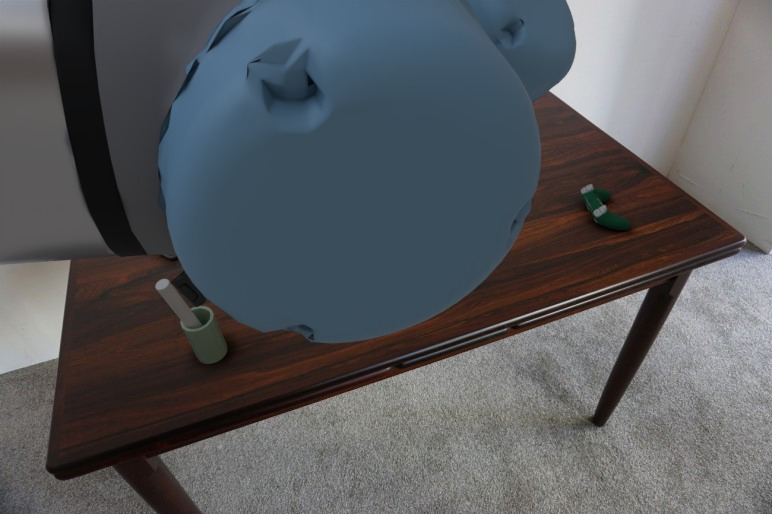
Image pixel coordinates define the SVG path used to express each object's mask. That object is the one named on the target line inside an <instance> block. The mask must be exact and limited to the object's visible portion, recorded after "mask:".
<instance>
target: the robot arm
mask: <svg viewBox="0 0 772 514" xmlns="http://www.w3.org/2000/svg"><path fill="white" fill-rule="evenodd" d="M576 52H577V38H576V31H575V21H574V18H573V14H572V11H571V9H570V5H569V4H568V1H567V0H0V266H5V265H17V264H31V263H45V262H46V263H47V262H60V261H74V260H75V261H76V260H88V259H104V258H119V257H120V258H124V257H126V258H127V257H139V256H140V257H141V256H154V255H155V256H161V255H166V254H176V255H177V257H178V258H177V260H178V261H179V265H180V267H181V268H182V269H183V271H181V273H179V274H178V275H177V276H176V277H175V278H173V280H171V281H170V283H171V284H172V285H173V287H174V288H175V289H176V291H177V292H178V293H179V294H180V295H182V296H183V297H184V298H185V299H186V300H187V301H188V302H189V303H190V304H192V305H193V307H199V306H203V305H204V304H205V303H206V302H207V300H208V301H209V302H211V303H212V304H214V305H215V306H216V307H218V309H220V310H221V311H223V312H224V313H226V314H227V315H229V316H230V317H231V318H232V319H234V320H235V321H236V322H237V323H240V324H242V325H243V326H246V327H250V328H252V329H254V330H256V331H259V332H261V333H263V334H264V333H269V332H270V333H271V332H274V331H280V330H283V331H284V330H285V331H288V332H295V333H297V334H300V335H302V336H303V337H304V338H305V339H307V341H309V342H310V343H320V344H321V343H322V344H343V343H353V342H361V341H362V342H363V341H367V340H373V339H376V338H380V337H384V336H389V335H392V334H395V333H398V332H401V331H403V330H407V329H409V328H412V327H414V326H417V325H419V324H421V323H423V322H426V321H428V320H430V319H432V318H433V317H436V316H438V315H440V314H441V313H443V312H444V311H446V310H448V309H449V308H450V307H452V306H454V305H455V304H457V303H458V302H460V301H461V300H463V299H464V298H465V297H467V296H468V295H469V294H471V293H472V292H473V291H474V290H475V289H476V288H477V287H479V286H480V285H481V284H482V283H483V282H484V281H485V280H486V279H487V278H488V277H490V275H491V274H492V273H493V272H494V270H496V268H497V267H498V266H499V265H500V264H501V263H502V262H503V260H504V259H505V257H506V256H507V255H508V253H509V252H510V251H511V250H512V248H513V246H514V244H515V242H516V240H517V239H518V237H519V234H520V233H521V230H522V229H523V225H524V223H525V219H526V218H527V216H528V215H529V214H530V213H531V209H532V204H533V203H534V201H535V200H534V198H533V197H534V195H535V194H536V191H537V190H538V186H539V180H540V173H541V167H542V166H541V162H542V146H541V136H540V129H539V125H538V121H537V119H536V114H535V110H534V106H533V103H534V102H536V101H537V100H538V99H540V98H541V97H542V96H545V94H547V93H548V92H549V91H550V90H551V89H553V88H554V87H555V86H557V85H558V84H559V83H561V81H563V79H564V78H565V77H566V76H567V75H568V74H569V72H570V70H571V69H572V66H573V65H574V61H575V58H576Z"/></svg>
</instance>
